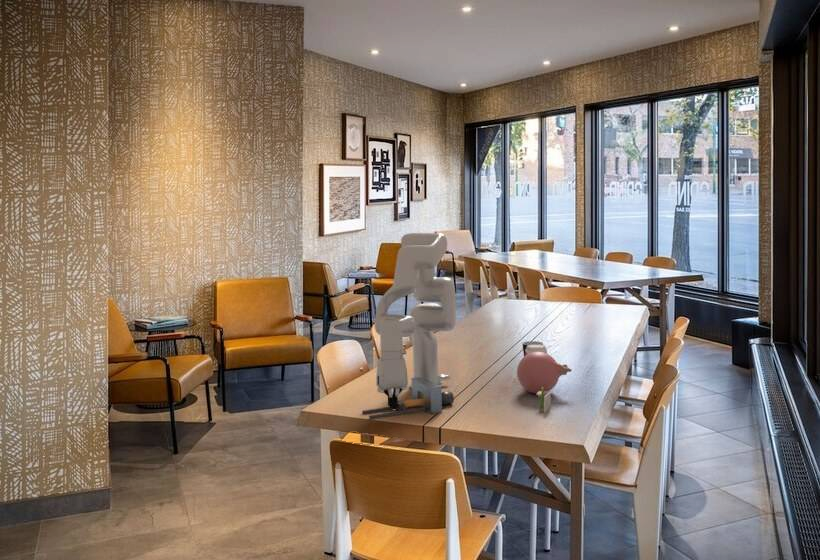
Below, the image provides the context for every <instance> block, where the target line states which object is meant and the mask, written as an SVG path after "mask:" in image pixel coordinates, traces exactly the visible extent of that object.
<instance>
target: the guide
mask: <svg viewBox="0 0 820 560" xmlns="http://www.w3.org/2000/svg"><path fill="white" fill-rule="evenodd" d="M394 409H395V408H394ZM385 410H389V411H392V412H386V411H385ZM378 411H382V413H379V412H378ZM421 411H422V412H426V411H425V407H418V408H411V409H405V410H404V411H393V409H391V408H390V407H389V406H385V407H384V406H383V407H379V408H371V409H363V410H362V411H361V413H362V415H366V414H367V413H368V414H370V415H368V414H367V415H368V419H369V420H375V419H380V418H381V417H382V418H387V416H389V417H394V415H395V416H402V415H407V413H409V414H414V412H416V413H420V412H421ZM373 412H375V414H373ZM383 412H385V413H383ZM377 413H379V414H377ZM371 414H372V415H371ZM401 414H402V415H401Z"/></svg>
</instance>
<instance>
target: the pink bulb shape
mask: <svg viewBox="0 0 820 560" xmlns="http://www.w3.org/2000/svg"><path fill="white" fill-rule="evenodd" d="M569 372H570V373H571V372H572V369H571V368H570V367H569V366H568V365H567V364H566V363H565V364H560V363H559V362H557V361H556V360H555V358H554V357H552V355H550V354H548V353H547V354H546V353H544V352H532V353H529V354H527V355H526V356H524V355H523V357H522V358H521V360H520V361H519V363H518V365H517V368H516V376H517V380H518V381H519V384H520V385H521V387H522V388H524V389H525V390H526V391H527V392H529V393H531V394H536V395H537V393H538V392H539V391H541V388H542V387H544V392H551V391H552V389H554V388H555V386H556V385H557V384H558V382H559V379H560V378H561V377H562V376H566V375H567V374H568V373H569Z"/></svg>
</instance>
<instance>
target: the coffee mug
mask: <svg viewBox="0 0 820 560" xmlns="http://www.w3.org/2000/svg"><path fill="white" fill-rule="evenodd" d="M531 344H540V345H544V343H543V342H542V341H534V340H532V341H531V340H529V341H523V342H522V344H521V345H522V351H523V357H524V356H525V349H526V348H527V345H531Z"/></svg>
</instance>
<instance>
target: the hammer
mask: <svg viewBox="0 0 820 560" xmlns="http://www.w3.org/2000/svg"><path fill="white" fill-rule="evenodd" d="M454 397H455V396H454V394H453V392H452V391H450V390H449V391H443V392H442V406H445V405H452V404H453V403H454V401H455V399H454ZM422 405H423V406H425V398H421V399H415V400H412V399H409V400H403V401H398V405H397V408H396V410H395V412H397V411H404V410H406V409H409V407H410V408H416V407H423V406H422ZM415 406H416V407H415Z"/></svg>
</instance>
